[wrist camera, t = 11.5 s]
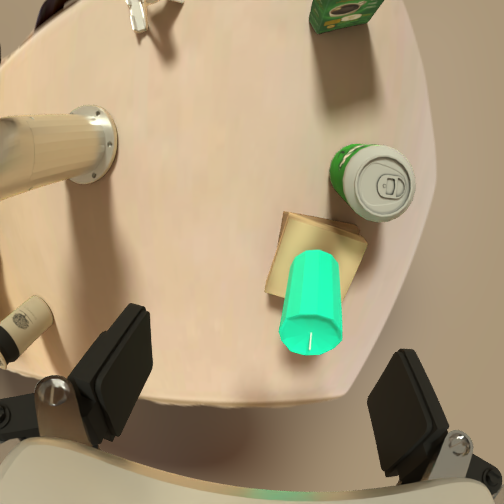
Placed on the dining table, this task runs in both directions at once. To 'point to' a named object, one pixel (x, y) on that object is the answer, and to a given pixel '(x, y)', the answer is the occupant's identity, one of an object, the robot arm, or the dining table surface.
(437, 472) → the robot arm
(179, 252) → the dining table surface
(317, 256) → the candle
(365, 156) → the soda can
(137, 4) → the portable electronic device stand
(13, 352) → the travel mug
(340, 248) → the oak block
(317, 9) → the coffee box
